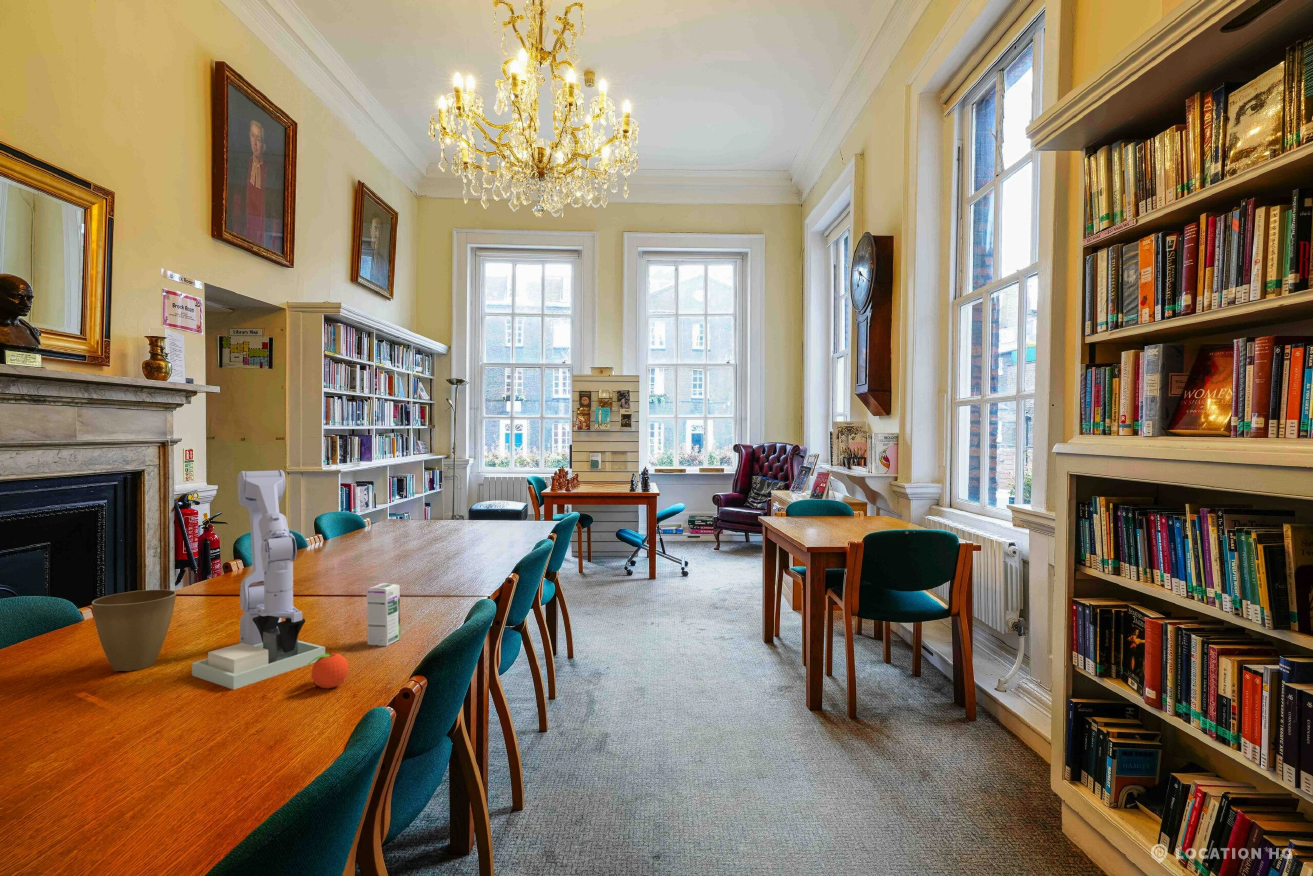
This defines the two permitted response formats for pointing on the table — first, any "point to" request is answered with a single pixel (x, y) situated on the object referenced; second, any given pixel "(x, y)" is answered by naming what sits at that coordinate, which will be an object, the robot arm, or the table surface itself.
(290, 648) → the robot arm
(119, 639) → the plant pot
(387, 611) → the syrup box
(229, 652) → the off-white block
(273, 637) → the tin
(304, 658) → the pale green tray
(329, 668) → the clementine
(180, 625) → the table surface
